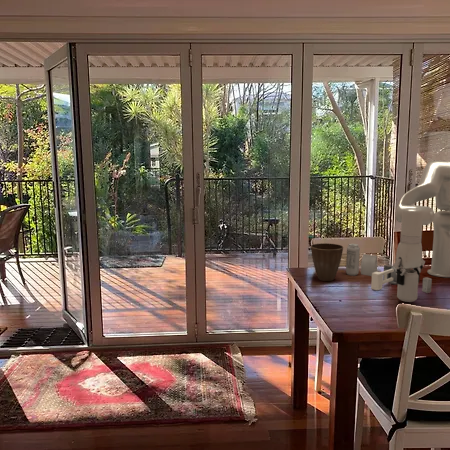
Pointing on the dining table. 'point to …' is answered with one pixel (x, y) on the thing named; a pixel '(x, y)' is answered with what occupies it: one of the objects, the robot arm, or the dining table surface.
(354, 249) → the energy drink can
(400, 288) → the can
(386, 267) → the hinge mount
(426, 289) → the post
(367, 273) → the tea bag
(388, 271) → the gate
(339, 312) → the dining table surface
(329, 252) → the plant pot
